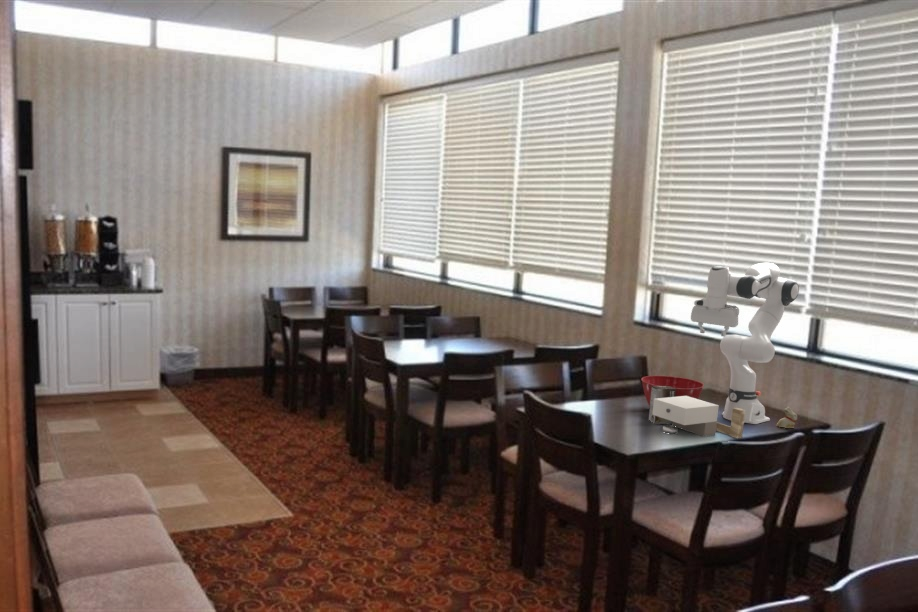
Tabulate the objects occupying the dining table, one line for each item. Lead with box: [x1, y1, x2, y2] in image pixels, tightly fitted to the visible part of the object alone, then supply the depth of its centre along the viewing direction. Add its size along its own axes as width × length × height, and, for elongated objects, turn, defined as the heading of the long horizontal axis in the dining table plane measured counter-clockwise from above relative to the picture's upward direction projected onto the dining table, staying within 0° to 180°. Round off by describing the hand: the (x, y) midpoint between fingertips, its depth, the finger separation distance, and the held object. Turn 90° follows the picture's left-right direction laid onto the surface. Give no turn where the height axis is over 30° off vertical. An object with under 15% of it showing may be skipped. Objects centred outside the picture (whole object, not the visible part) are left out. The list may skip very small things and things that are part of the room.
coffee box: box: [648, 386, 676, 425], centre depth 363 cm, size 9×6×16 cm
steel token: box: [662, 424, 678, 435], centre depth 348 cm, size 6×6×2 cm
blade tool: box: [716, 408, 745, 439], centre depth 355 cm, size 3×22×12 cm, turn 32°
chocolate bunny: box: [775, 406, 798, 429], centre depth 370 cm, size 6×8×10 cm
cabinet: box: [652, 396, 720, 437], centre depth 350 cm, size 21×18×13 cm
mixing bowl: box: [640, 375, 705, 407], centre depth 382 cm, size 28×28×16 cm
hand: (712, 334), depth 356 cm, fingers open, 8 cm apart
